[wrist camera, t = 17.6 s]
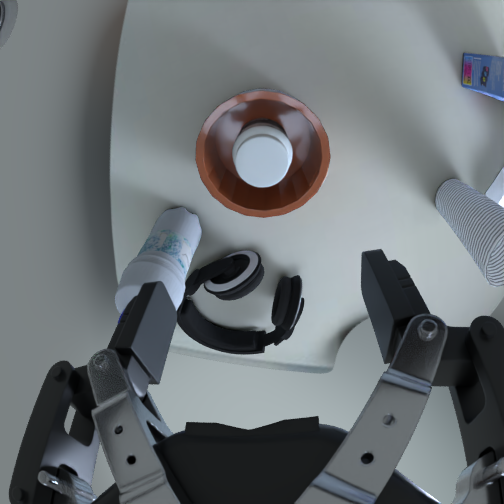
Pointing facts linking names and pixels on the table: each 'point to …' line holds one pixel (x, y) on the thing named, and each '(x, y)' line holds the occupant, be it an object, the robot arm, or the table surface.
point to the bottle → (162, 257)
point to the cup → (475, 226)
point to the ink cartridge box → (484, 74)
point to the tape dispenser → (497, 189)
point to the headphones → (234, 287)
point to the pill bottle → (262, 152)
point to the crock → (299, 172)
